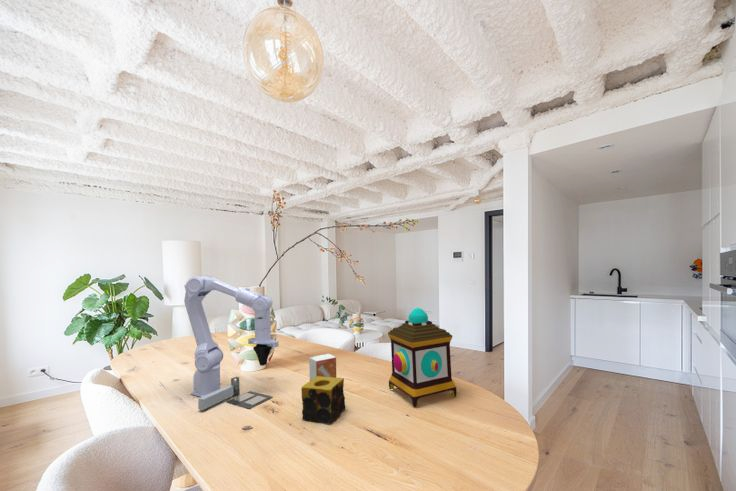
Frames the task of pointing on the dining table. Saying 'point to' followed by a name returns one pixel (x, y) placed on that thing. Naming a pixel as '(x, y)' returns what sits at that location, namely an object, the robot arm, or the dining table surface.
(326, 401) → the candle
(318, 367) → the small box
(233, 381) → the post
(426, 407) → the dining table surface
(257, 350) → the robot arm
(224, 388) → the gray rectangular box
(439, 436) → the dining table surface
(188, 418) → the dining table surface
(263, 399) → the label panel
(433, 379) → the decorative lantern
